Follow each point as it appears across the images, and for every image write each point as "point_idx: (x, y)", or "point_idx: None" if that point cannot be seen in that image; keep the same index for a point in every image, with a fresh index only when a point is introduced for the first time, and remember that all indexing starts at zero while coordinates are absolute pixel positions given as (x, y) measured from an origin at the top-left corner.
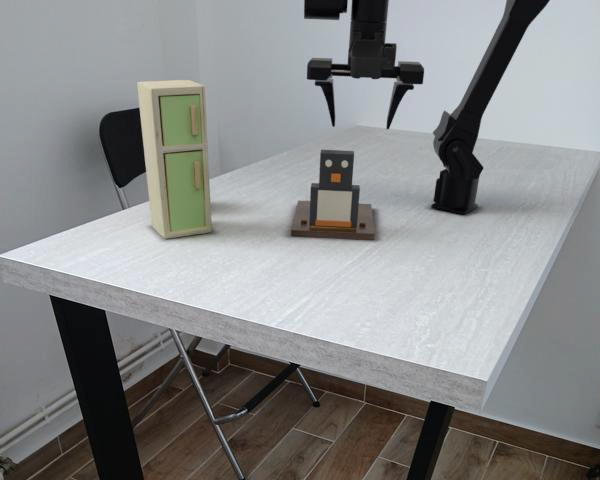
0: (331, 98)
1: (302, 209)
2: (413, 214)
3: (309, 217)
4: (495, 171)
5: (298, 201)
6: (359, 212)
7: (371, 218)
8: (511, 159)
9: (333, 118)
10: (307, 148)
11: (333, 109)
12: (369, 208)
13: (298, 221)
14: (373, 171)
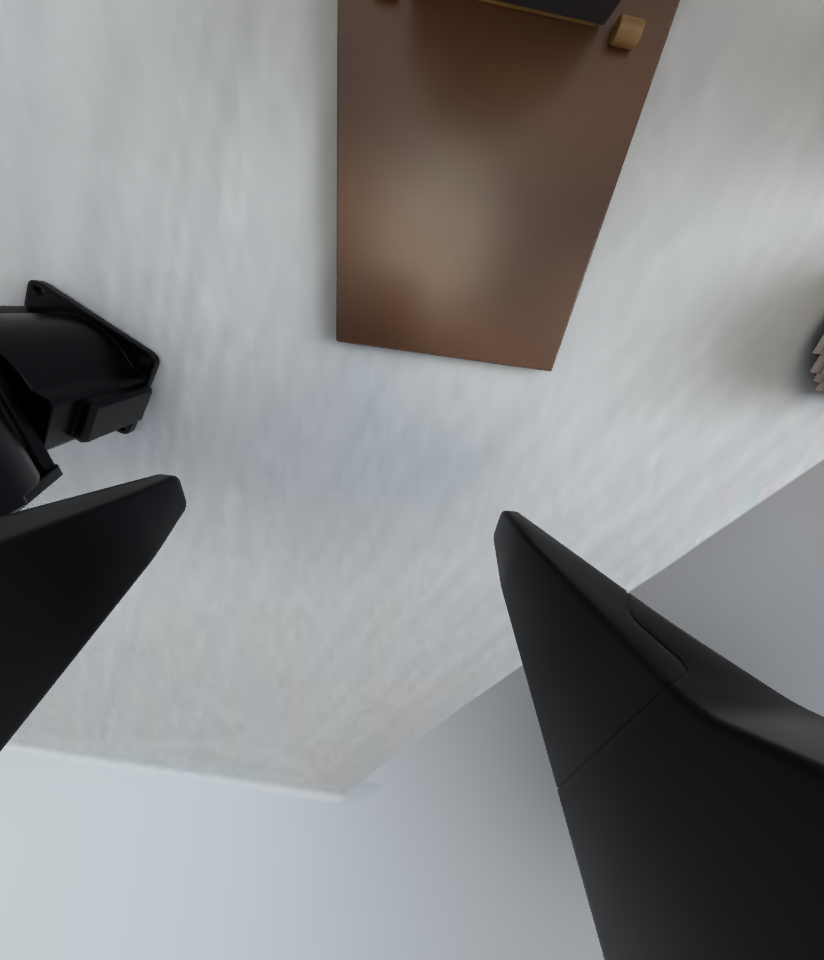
0: (657, 650)
1: (569, 259)
2: (206, 289)
3: (575, 136)
4: None
5: (554, 358)
6: (381, 225)
7: (342, 126)
8: (66, 693)
9: (531, 534)
10: (433, 720)
11: (565, 572)
12: (343, 282)
13: (639, 57)
14: (323, 626)
